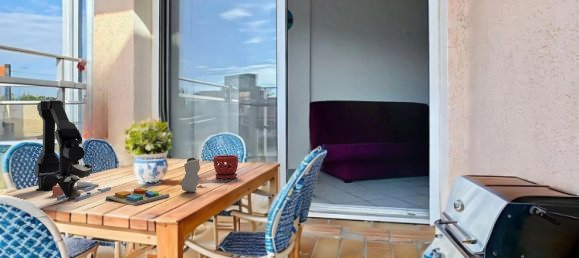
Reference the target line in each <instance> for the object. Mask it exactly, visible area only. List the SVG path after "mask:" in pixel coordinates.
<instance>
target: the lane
mask: <svg viewBox="0 0 579 258" xmlns="http://www.w3.org/2000/svg"><path fill="white" fill-rule="evenodd" d="M95 188H96V187H95V186H91V187H87V188H80V190H77V191H80V194H83V193H85V194H83V195H81V196H79V197H76V198H75V199H74V201H76V202H77V201H81V200H85V199H87V198H91V197H94V196H96V195H99V194H103V193H106V192H109V191H111V190H112V188H111V186H107V187H103V188H98V189H97V190H95ZM92 190H93V191H92ZM91 191H92V192H91ZM64 198H65V199H68V197H66V196H65V194H64V195H61V196H56V200H58V201H61V199H62V200H64Z"/></svg>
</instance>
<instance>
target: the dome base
mask: <svg viewBox="0 0 579 258" xmlns="http://www.w3.org/2000/svg"><path fill="white" fill-rule="evenodd" d="M92 186H95V188H99V187H100V185H99V184H94V183H93V185H92ZM87 187H91V186H87ZM87 187H78V186H77V185H74V187H73V189H74V188H75V189H77V191H78V190H80V188H87Z"/></svg>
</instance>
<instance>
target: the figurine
mask: <svg viewBox="0 0 579 258" xmlns="http://www.w3.org/2000/svg"><path fill="white" fill-rule="evenodd" d="M183 165H184V167H183V168H184V171H185V174H184V177H183V178H182V180H181V183H180V184H181V186H180V187H181V189H182V191H184V192H188V193H196V192H197V187H198V185H199V181H200V179H201V178H200V175H199V174H198V173H199V172H200V170H201V165H200V159H197V158H195V157H190V158H188V159H187V160H186V162H185V163H184V164H183Z"/></svg>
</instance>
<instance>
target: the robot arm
mask: <svg viewBox="0 0 579 258" xmlns="http://www.w3.org/2000/svg"><path fill="white" fill-rule="evenodd" d="M36 107H37V111H38V116H39V117H40V119H41V120H42V151H41V152H42V153H41V154H40V156H39V157H38V158H37V163H36V164H35V168H34V169H35V170H34V176H35V177H36V178H38V181H37V182H38V188H35V190H36V191H44V192H45V191H53V190H52V187H54V186H56V185H59V186H60V187H61V189H62V191H63V192H64V194H65V196H66V197H70V196H71V193H72V190H73V187H74V186H76V184H77V182H78V181H81V179H84V178H89V176H91V173H92V172H93V166H92V164H91V163H85V164H80V161H82V159H83V158H84V157H85V153H86V152H85V150H84V148H83V147H82V146H80V145H82V144H83V138H82V135H81V132H80V130H79V129H78V127H77V126H76V124H75V123H73V122H71V121H70V120H69V117H68V115H67V113H66V111H65V107H64V102H63V100H60V99H59V100H58V99H57V100H55V99H53V100H52V99H50V100H40V102H38V103H37V104H36ZM56 141H57V143H58V151H59V152H58V153H59V155H58V156H57V154H56V151H55V149H56V148H55V147H56Z"/></svg>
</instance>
